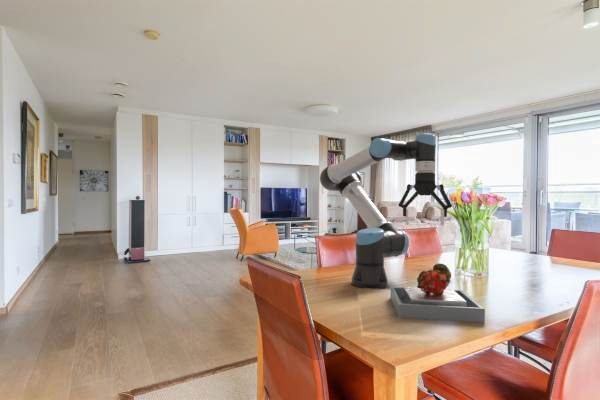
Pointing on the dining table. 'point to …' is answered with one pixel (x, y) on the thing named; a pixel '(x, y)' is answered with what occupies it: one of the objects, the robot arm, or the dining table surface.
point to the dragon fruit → (432, 282)
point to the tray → (438, 309)
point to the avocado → (442, 270)
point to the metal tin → (432, 297)
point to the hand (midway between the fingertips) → (424, 225)
